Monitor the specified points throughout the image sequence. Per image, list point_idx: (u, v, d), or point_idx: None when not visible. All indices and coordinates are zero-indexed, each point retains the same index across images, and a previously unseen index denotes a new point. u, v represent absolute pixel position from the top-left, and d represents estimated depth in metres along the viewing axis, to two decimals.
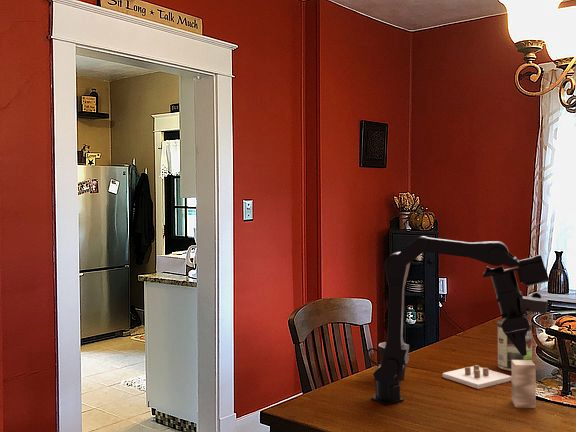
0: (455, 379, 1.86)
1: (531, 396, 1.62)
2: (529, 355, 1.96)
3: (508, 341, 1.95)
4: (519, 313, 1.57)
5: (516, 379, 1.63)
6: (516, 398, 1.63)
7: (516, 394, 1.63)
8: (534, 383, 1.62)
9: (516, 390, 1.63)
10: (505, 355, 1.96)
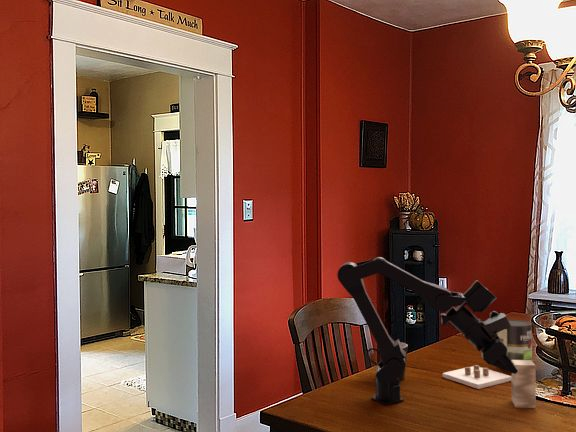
0: (455, 379, 1.86)
1: (531, 396, 1.62)
2: (529, 355, 1.96)
3: (508, 341, 1.95)
4: (490, 339, 1.64)
5: (516, 379, 1.63)
6: (516, 398, 1.63)
7: (516, 394, 1.63)
8: (534, 383, 1.62)
9: (516, 390, 1.63)
10: None
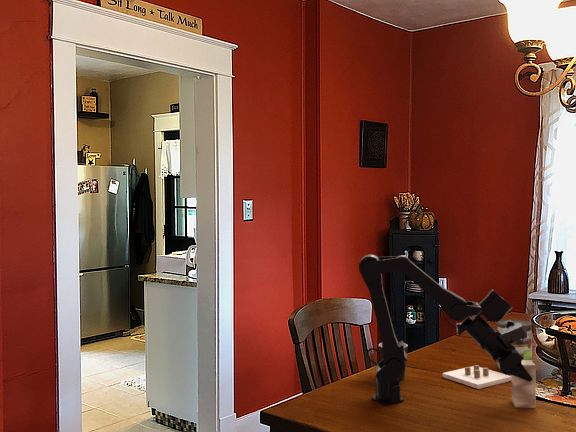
0: (455, 379, 1.86)
1: (531, 396, 1.62)
2: (529, 355, 1.96)
3: None
4: (506, 348, 1.63)
5: (516, 379, 1.63)
6: (516, 398, 1.63)
7: (516, 394, 1.63)
8: (534, 383, 1.62)
9: (516, 390, 1.63)
10: None
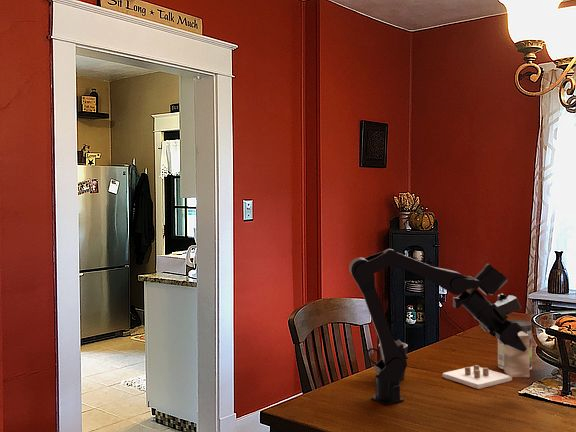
0: (455, 379, 1.86)
1: (525, 365, 1.68)
2: (529, 355, 1.96)
3: None
4: (502, 320, 1.67)
5: (511, 350, 1.68)
6: (511, 368, 1.68)
7: (511, 364, 1.68)
8: (528, 353, 1.68)
9: (511, 360, 1.68)
10: None
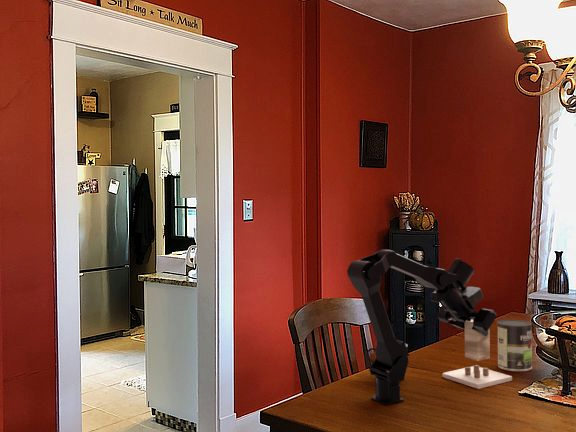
0: (455, 379, 1.86)
1: (487, 348, 1.86)
2: (529, 355, 1.96)
3: (508, 341, 1.95)
4: (472, 310, 1.83)
5: (478, 335, 1.84)
6: (478, 352, 1.84)
7: (478, 349, 1.84)
8: (489, 337, 1.87)
9: (478, 345, 1.84)
10: (505, 355, 1.96)
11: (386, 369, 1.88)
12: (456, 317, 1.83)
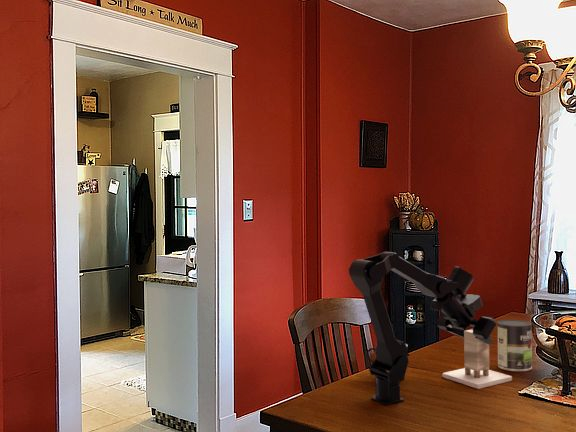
0: (455, 379, 1.86)
1: (486, 359, 1.87)
2: (529, 355, 1.96)
3: (508, 341, 1.95)
4: (471, 317, 1.83)
5: (477, 346, 1.85)
6: (478, 363, 1.85)
7: (477, 359, 1.85)
8: (488, 347, 1.87)
9: (478, 356, 1.85)
10: (505, 355, 1.96)
11: (386, 369, 1.88)
12: (456, 325, 1.83)
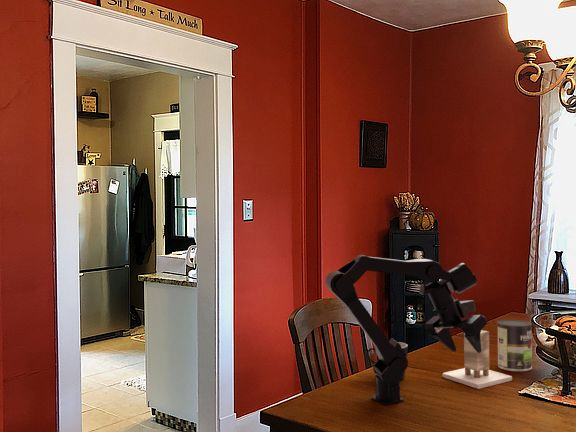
0: (455, 379, 1.86)
1: (486, 359, 1.87)
2: (529, 355, 1.96)
3: (508, 341, 1.95)
4: (462, 317, 1.72)
5: None
6: (478, 363, 1.85)
7: (477, 359, 1.85)
8: (488, 347, 1.87)
9: (478, 356, 1.85)
10: (505, 355, 1.96)
11: None
12: (444, 321, 1.71)
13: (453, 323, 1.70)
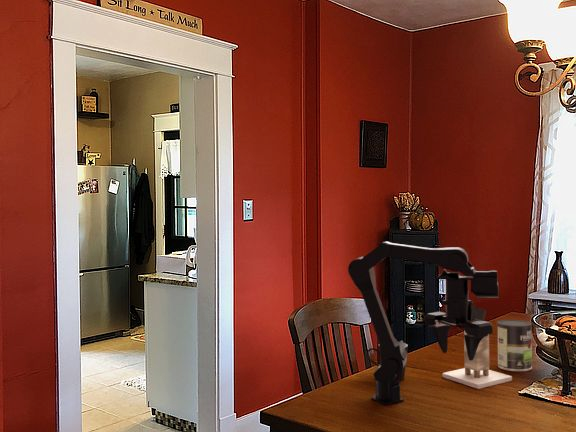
0: (455, 379, 1.86)
1: (486, 359, 1.87)
2: (529, 355, 1.96)
3: (508, 341, 1.95)
4: (468, 319, 1.63)
5: None
6: (478, 363, 1.85)
7: (477, 359, 1.85)
8: (488, 347, 1.87)
9: (478, 356, 1.85)
10: (505, 355, 1.96)
11: None
12: (449, 315, 1.62)
13: (458, 320, 1.61)
